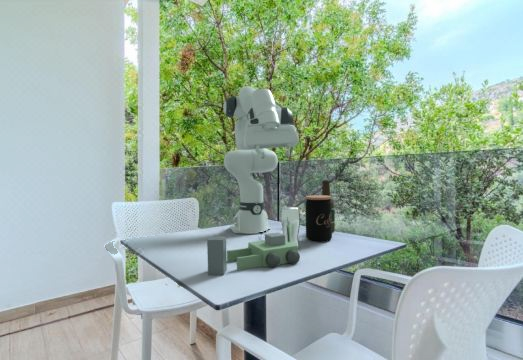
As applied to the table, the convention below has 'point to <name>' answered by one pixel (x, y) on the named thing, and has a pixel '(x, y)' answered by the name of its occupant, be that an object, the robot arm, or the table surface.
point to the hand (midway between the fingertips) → (275, 157)
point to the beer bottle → (327, 192)
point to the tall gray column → (217, 255)
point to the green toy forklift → (265, 253)
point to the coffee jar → (318, 218)
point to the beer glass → (291, 224)
